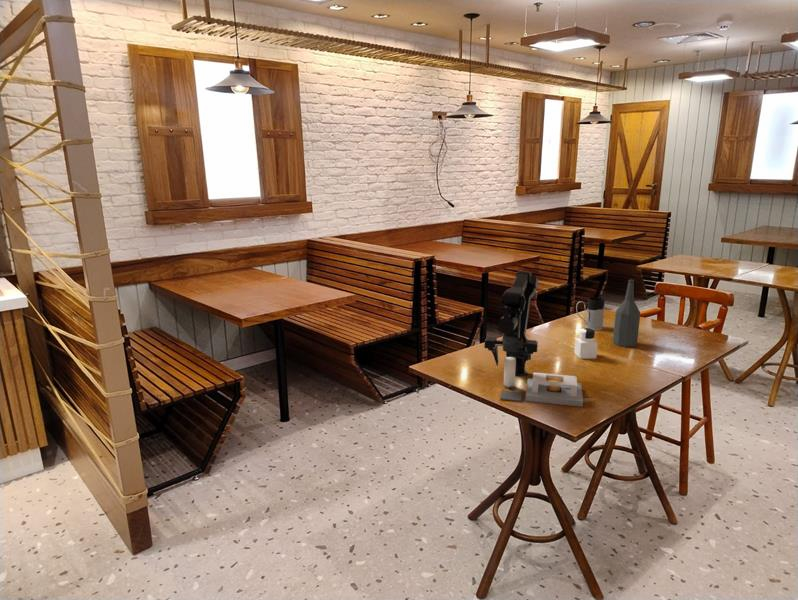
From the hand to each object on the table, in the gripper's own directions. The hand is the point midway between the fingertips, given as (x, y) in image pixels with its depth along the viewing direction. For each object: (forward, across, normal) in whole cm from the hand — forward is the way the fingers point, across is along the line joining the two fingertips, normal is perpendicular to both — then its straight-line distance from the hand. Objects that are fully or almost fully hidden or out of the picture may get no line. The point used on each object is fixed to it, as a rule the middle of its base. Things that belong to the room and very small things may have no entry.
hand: (510, 366), depth 201 cm
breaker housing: (+8, +16, -3) cm, 18 cm away
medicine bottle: (+8, +29, +42) cm, 52 cm away
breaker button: (+6, +16, -3) cm, 17 cm away
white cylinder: (+8, 0, 0) cm, 8 cm away
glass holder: (+9, +33, +86) cm, 92 cm away
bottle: (+9, +47, +63) cm, 80 cm away
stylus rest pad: (+8, +2, -9) cm, 12 cm away
